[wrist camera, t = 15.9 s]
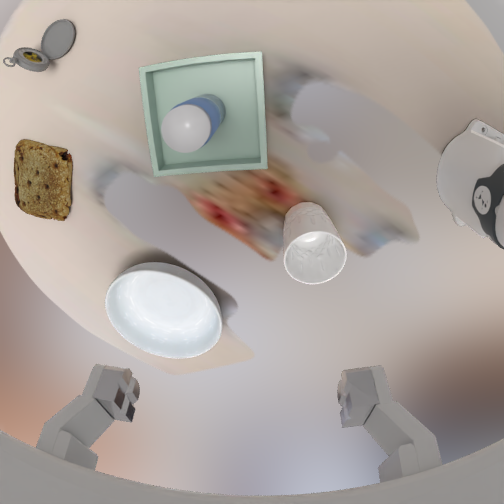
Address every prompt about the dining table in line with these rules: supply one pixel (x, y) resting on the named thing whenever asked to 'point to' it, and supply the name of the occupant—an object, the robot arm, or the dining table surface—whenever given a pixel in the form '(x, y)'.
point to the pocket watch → (46, 47)
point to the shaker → (193, 123)
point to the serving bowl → (164, 310)
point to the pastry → (42, 179)
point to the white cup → (311, 245)
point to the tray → (235, 122)
